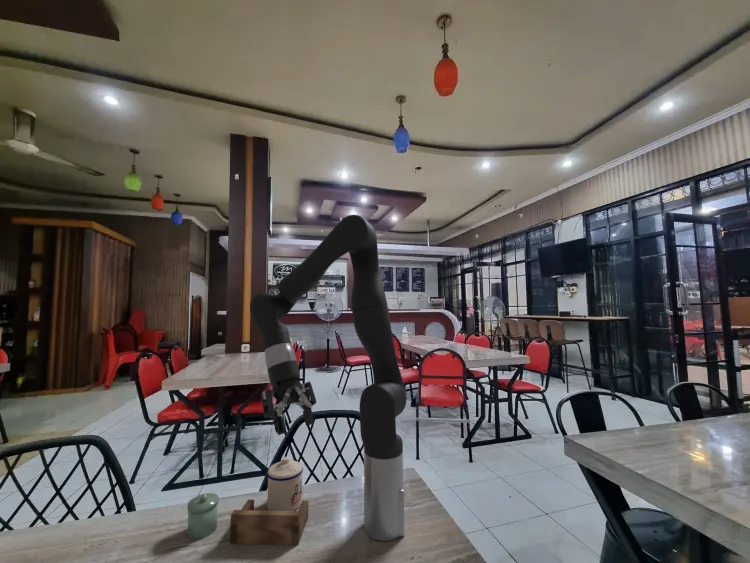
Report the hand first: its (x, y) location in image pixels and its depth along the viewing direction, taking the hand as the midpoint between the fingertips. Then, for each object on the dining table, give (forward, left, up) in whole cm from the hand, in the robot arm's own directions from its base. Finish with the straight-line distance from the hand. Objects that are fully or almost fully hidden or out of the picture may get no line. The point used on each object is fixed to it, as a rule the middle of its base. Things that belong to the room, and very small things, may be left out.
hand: (296, 429), depth 78 cm
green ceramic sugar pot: (+21, +2, -22) cm, 30 cm away
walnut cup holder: (+5, +2, -22) cm, 23 cm away
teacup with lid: (+5, -9, -22) cm, 24 cm away
